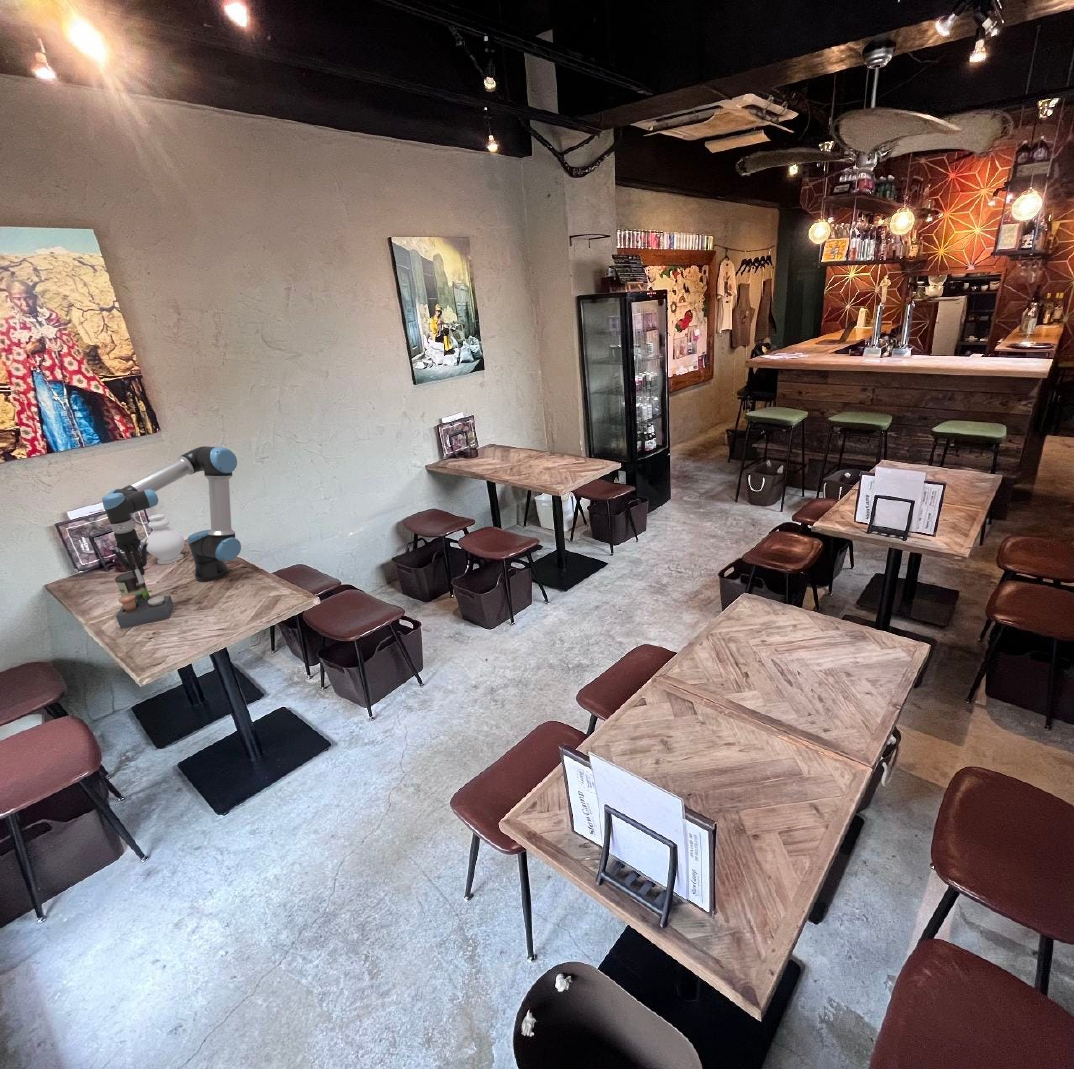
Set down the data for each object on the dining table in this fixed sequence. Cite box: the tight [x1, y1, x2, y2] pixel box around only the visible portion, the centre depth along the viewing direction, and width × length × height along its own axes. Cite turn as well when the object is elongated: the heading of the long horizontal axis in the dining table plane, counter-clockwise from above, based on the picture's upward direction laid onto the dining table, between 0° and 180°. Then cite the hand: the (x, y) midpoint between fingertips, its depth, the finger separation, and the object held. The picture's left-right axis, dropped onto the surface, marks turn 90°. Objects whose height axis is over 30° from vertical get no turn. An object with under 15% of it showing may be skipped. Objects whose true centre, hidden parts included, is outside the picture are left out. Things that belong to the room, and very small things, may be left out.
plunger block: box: [115, 594, 175, 629], centre depth 250 cm, size 18×12×6 cm, turn 111°
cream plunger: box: [148, 595, 165, 606], centre depth 251 cm, size 6×6×7 cm
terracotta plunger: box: [118, 594, 137, 611], centre depth 247 cm, size 6×6×7 cm
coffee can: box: [114, 570, 152, 602], centre depth 263 cm, size 10×10×14 cm
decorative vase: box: [145, 513, 186, 565], centre depth 309 cm, size 18×18×25 cm
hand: (142, 582), depth 246 cm, fingers closed
